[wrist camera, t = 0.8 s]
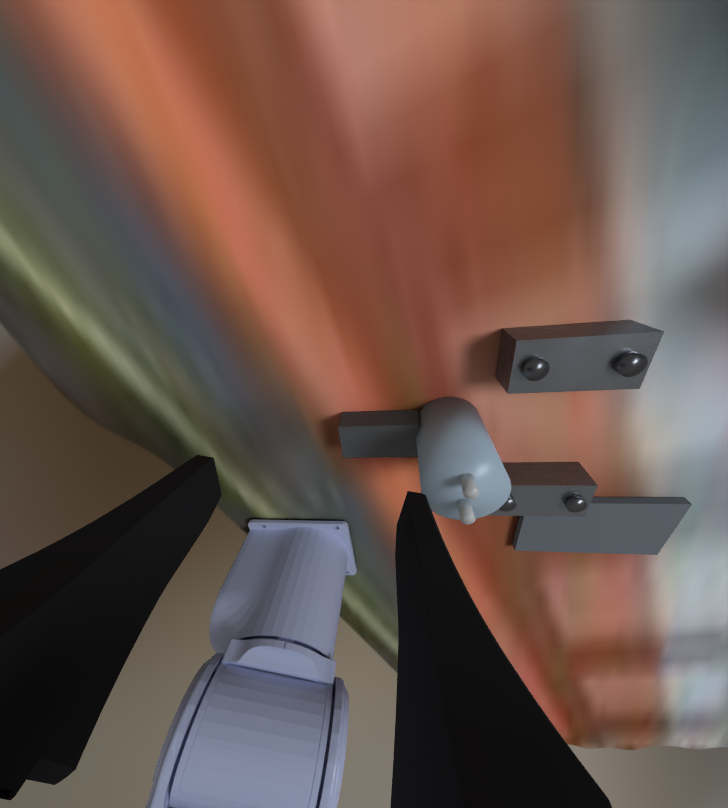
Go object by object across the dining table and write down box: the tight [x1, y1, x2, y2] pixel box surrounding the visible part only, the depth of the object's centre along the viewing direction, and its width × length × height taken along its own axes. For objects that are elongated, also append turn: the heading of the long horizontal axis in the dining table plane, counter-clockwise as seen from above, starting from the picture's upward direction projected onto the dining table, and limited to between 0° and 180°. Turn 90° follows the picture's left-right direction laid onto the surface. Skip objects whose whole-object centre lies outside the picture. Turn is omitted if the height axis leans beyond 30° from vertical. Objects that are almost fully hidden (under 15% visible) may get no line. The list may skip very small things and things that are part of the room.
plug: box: [338, 397, 511, 524], centre depth 17 cm, size 9×4×7 cm, turn 96°
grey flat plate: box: [513, 497, 692, 555], centre depth 23 cm, size 11×6×1 cm, turn 96°
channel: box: [489, 320, 664, 517], centre depth 18 cm, size 6×13×3 cm, turn 6°
